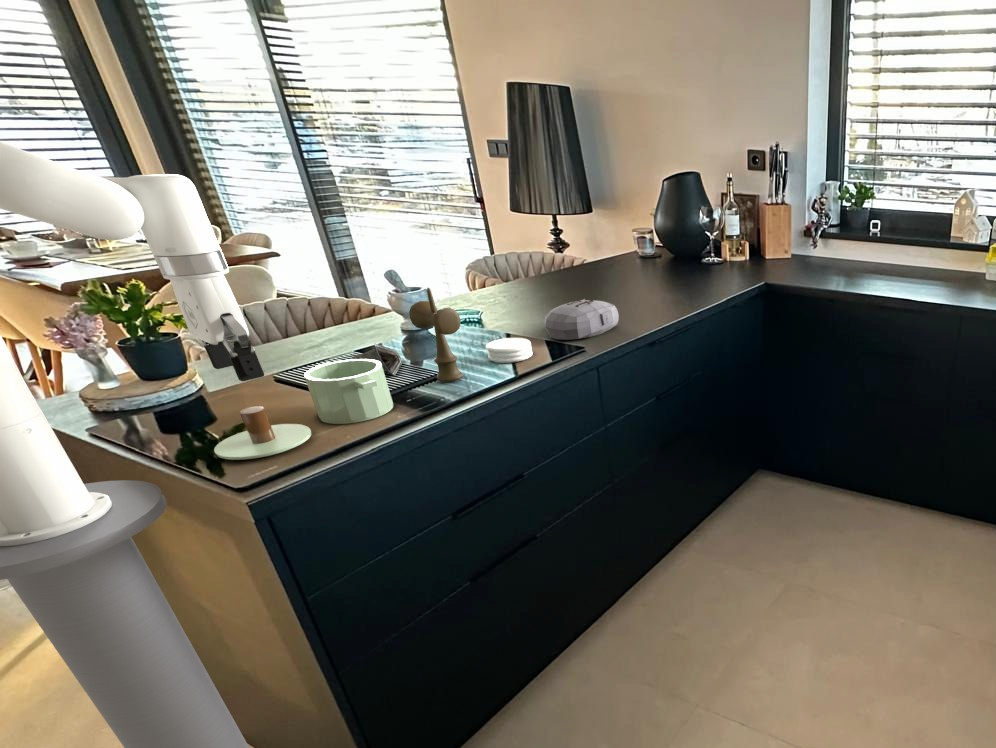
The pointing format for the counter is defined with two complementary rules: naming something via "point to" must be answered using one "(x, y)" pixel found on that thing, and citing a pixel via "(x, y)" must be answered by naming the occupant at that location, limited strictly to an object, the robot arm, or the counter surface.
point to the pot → (349, 391)
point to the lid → (261, 437)
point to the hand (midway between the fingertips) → (239, 372)
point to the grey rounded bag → (581, 319)
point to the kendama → (439, 334)
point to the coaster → (509, 350)
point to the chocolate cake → (383, 358)
